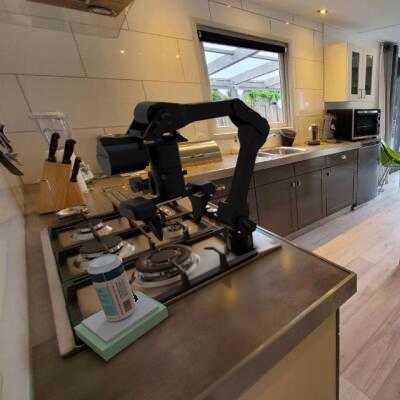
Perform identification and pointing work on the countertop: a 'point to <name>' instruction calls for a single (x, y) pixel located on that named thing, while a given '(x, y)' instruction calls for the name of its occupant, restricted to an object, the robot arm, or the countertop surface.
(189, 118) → the robot arm
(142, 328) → the kitchen scale
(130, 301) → the white canister
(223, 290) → the countertop surface
